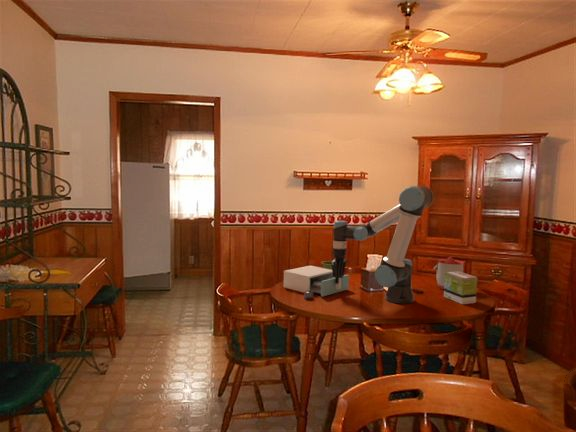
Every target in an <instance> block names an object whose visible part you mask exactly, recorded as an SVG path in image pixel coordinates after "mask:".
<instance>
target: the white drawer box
mask: <svg viewBox="0 0 576 432" xmlns="http://www.w3.org/2000/svg"><path fill="white" fill-rule="evenodd" d="M332 278H335V277H333V272H332V270H330V269H325V268H323V267H320V266H316V265H315V266H314V265H306V266H302V267H297V268H292V269H286V270H283V288H284V289H285V288H286V289H289V290H291V291H292V290H293V291H296V292H301V293H304V292H305V291H310V280H314V279H318V280H322V281H324V280H328V279H332ZM314 293H315V292H313V294H314Z"/></svg>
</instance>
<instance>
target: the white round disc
mask: <svg viewBox="0 0 576 432" xmlns="http://www.w3.org/2000/svg"><path fill="white" fill-rule="evenodd" d="M313 285H316V286H320V287H321V281H320V280H317V281H313Z"/></svg>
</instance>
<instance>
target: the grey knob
mask: <svg viewBox="0 0 576 432" xmlns="http://www.w3.org/2000/svg"><path fill="white" fill-rule="evenodd" d="M303 299H305V300H306V301H307V300H313V299H314V293H313V292H312V291H305V292H303Z"/></svg>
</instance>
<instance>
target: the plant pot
mask: <svg viewBox="0 0 576 432" xmlns="http://www.w3.org/2000/svg"><path fill="white" fill-rule="evenodd" d="M331 261H332V260H328V261H327V260H326V261H321V262H320V263H321V264H322V265H321V266H322V268H325V269H330V270H332V265H331Z"/></svg>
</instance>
